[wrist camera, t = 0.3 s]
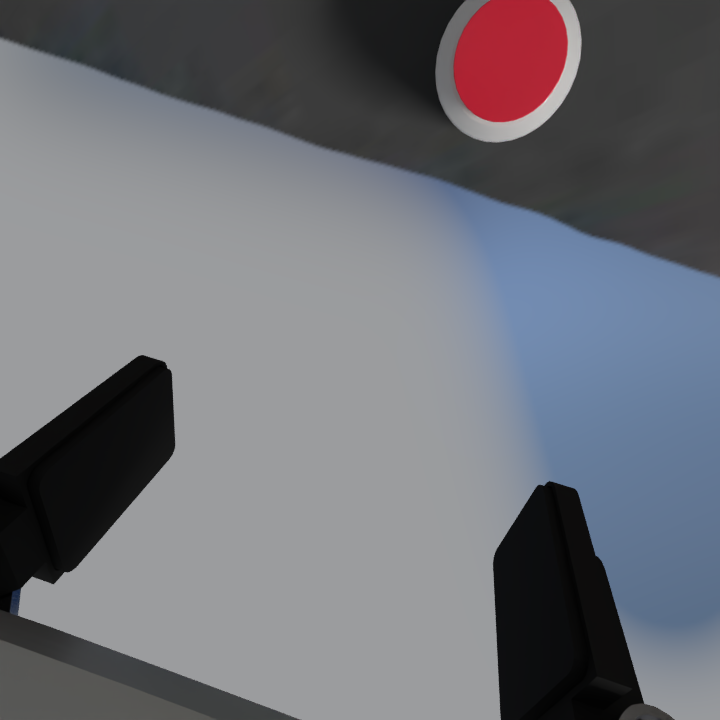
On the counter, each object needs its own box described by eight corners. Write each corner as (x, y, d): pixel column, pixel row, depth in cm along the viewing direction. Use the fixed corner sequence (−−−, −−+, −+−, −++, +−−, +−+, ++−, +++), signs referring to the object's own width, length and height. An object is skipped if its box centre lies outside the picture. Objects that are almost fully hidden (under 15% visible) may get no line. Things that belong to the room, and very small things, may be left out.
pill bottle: (451, 147, 34) (444, 162, 24) (434, 29, 30) (418, -6, 21) (558, 118, 31) (594, 123, 22) (552, -13, 28) (593, -74, 19)
